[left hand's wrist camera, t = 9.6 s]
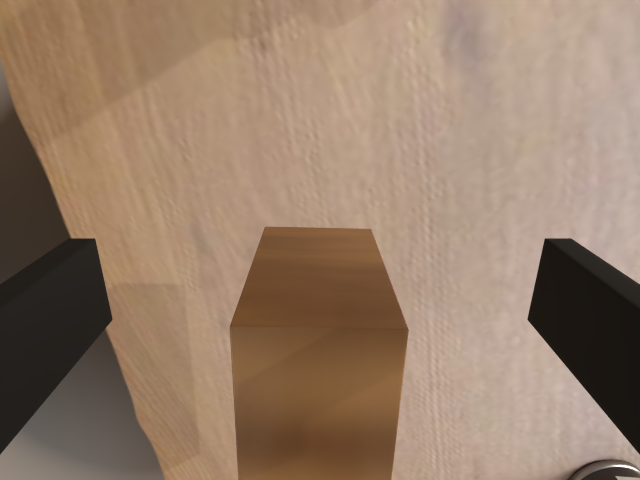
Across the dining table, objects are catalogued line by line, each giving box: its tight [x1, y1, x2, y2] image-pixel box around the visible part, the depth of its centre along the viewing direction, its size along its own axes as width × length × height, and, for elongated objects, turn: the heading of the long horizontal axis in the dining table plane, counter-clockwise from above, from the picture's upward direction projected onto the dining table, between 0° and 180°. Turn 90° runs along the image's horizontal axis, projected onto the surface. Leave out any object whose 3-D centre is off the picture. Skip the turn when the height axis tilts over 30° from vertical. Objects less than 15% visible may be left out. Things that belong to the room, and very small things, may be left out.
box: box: [230, 227, 409, 480], centre depth 23 cm, size 21×6×11 cm, turn 179°
